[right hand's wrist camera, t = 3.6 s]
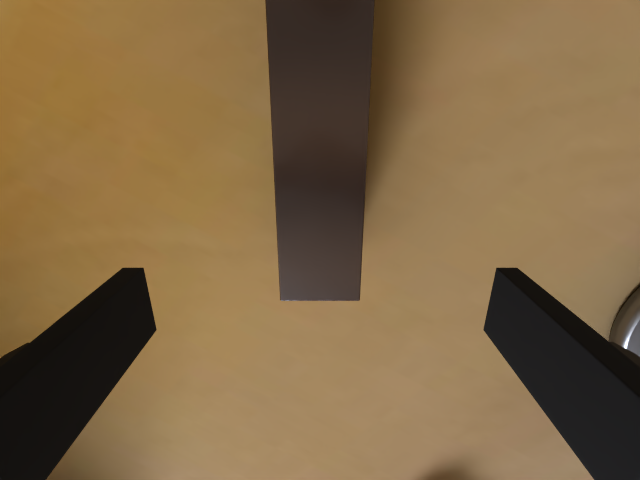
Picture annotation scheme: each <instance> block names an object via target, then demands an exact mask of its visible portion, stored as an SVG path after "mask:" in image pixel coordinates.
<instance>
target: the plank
mask: <svg viewBox="0 0 640 480" xmlns="http://www.w3.org/2000/svg"><path fill="white" fill-rule="evenodd" d="M266 20H267V41H268V61H269V81H270V102H271V122H272V142H273V163H274V183H275V203H276V224H277V244H278V264H279V285H280V300H281V301H359V300H360V285H361V265H362V244H363V224H364V204H365V183H366V163H367V142H368V122H369V102H370V81H371V61H372V41H373V20H374V0H266Z"/></svg>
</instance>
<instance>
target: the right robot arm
mask: <svg viewBox="0 0 640 480" xmlns="http://www.w3.org/2000/svg"><path fill="white" fill-rule="evenodd" d="M155 331H156V325H155V320H154V316H153V311H152V306H151V301H150V297H149V292H148V287H147V282H146V277H145V273H144V268H122V269H121V270H120V271H118V272H117V273H116V274H115V275H113V276H112V277H111V278H110V279H108V280H107V281H106V282H105V283H104V284H102V285H101V286H100V287H99V288H97V289H96V290H95V291H94V292H92V293H91V294H90V295H89V296H87V297H86V298H85V299H84V300H82V301H81V302H80V303H79V304H77V305H76V306H75V307H74V308H73V309H71V310H70V311H69V312H68V313H66V314H65V315H64V316H63V317H61V318H60V319H59V320H58V321H56V322H55V323H54V324H53V325H51V326H50V327H49V328H48V329H47V330H45V331H44V332H43V333H42V334H40V335H39V336H38V337H37V338H35V339H34V340H33V341H32V342H30V343H26V344H25V345H23V346H21V347H19V348H17V349H15V350H13V351H11V352H10V353H8V354H6V355H4V356H3V357H2V358H0V480H46V479H47V477H48V476H49V474H50V473H51V472H52V470H53V469H54V468H55V466H56V465H57V464H58V462H59V461H60V460H61V458H62V457H63V456H64V454H65V453H66V452H67V450H68V449H69V447H70V446H71V445H72V443H73V442H74V441H75V439H76V438H77V437H78V435H79V434H80V433H81V431H82V430H83V429H84V427H85V426H86V424H87V423H88V422H89V420H90V419H91V418H92V416H93V415H94V414H95V412H96V411H97V410H98V408H99V407H100V406H101V404H102V403H103V401H104V400H105V399H106V397H107V396H108V395H109V393H110V392H111V391H112V389H113V388H114V387H115V385H116V384H117V383H118V381H119V380H120V378H121V377H122V376H123V374H124V373H125V372H126V370H127V369H128V368H129V366H130V365H131V364H132V362H133V361H134V360H135V358H136V357H137V356H138V354H139V353H140V351H141V350H142V349H143V347H144V346H145V345H146V343H147V342H148V341H149V339H150V338H151V337H152V335H153V334H154V333H155ZM484 331H485V333H486V334H487V335H488V337H489V338H490V339H491V341H492V342H493V343H494V345H495V346H496V347H497V349H498V350H499V351H500V353H501V354H502V356H503V357H504V358H505V360H506V361H507V362H508V364H509V365H510V366H511V368H512V369H513V370H514V372H515V373H516V374H517V376H518V377H519V378H520V380H521V381H522V383H523V384H524V385H525V387H526V388H527V389H528V391H529V392H530V393H531V395H532V396H533V397H534V399H535V400H536V401H537V403H538V404H539V406H540V407H541V408H542V410H543V411H544V412H545V414H546V415H547V416H548V418H549V419H550V420H551V422H552V423H553V424H554V426H555V427H556V429H557V430H558V431H559V433H560V434H561V435H562V437H563V438H564V439H565V441H566V442H567V443H568V445H569V446H570V447H571V449H572V450H573V452H574V453H575V454H576V456H577V457H578V458H579V460H580V461H581V462H582V464H583V465H584V466H585V468H586V469H587V470H588V472H589V473H590V474H591V476H592V477H593V479H594V480H640V287H639V288H638V289H637V290H636V291H635V292H634V293H633V294H632V296H631V297H630V298H629V299H628V300H627V302H626V303H625V304H624V305H623V307H622V308H621V310H620V311H619V313H618V315H617V317H616V319H615V321H614V323H613V326H612V329H611V332H610V337H609V342H608V341H607V340H606V339H605V338H603V337H602V336H601V335H600V334H598V333H597V332H596V331H595V330H593V329H592V328H591V327H590V326H589V325H587V324H586V323H585V322H584V321H582V320H581V319H580V318H579V317H577V316H576V315H575V314H574V313H572V312H571V311H570V310H569V309H567V308H566V307H565V306H564V305H563V304H561V303H560V302H559V301H558V300H556V299H555V298H554V297H553V296H551V295H550V294H549V293H548V292H546V291H545V290H544V289H543V288H541V287H540V286H539V285H538V284H536V283H535V282H534V281H533V280H532V279H530V278H529V277H528V276H527V275H525V274H524V273H523V272H522V271H520V270H519V269H518V268H496V273H495V277H494V282H493V287H492V292H491V297H490V301H489V306H488V311H487V316H486V320H485V325H484Z"/></svg>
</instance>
